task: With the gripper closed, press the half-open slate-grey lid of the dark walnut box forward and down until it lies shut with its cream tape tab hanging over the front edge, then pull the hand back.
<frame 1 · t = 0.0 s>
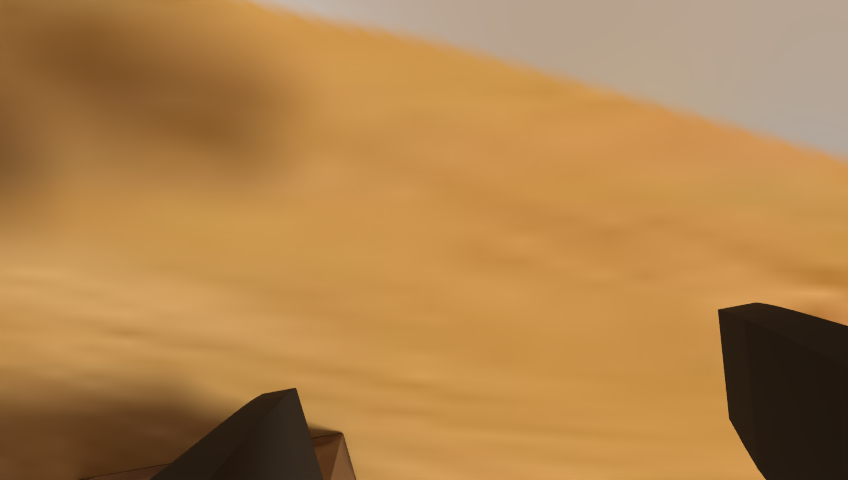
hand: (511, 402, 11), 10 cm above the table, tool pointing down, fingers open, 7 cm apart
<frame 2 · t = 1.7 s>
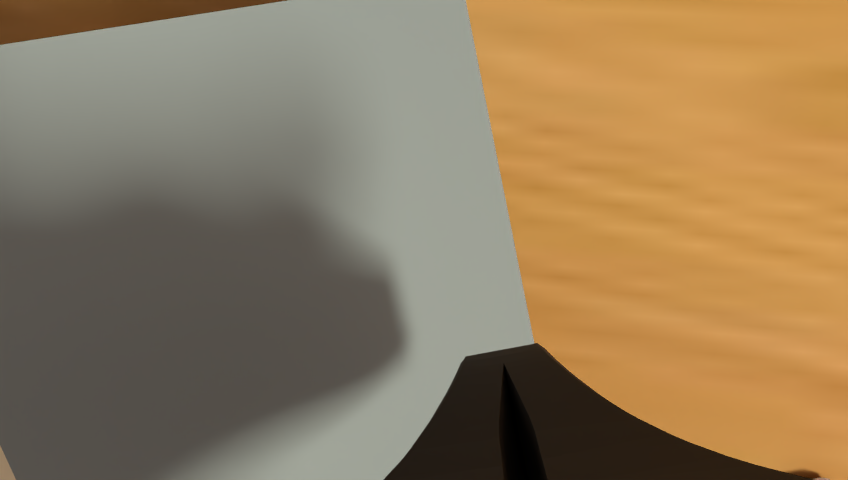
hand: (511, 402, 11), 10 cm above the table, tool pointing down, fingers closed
lid: (296, 380, 14), point 8 cm above the table, hinge at 40.0°
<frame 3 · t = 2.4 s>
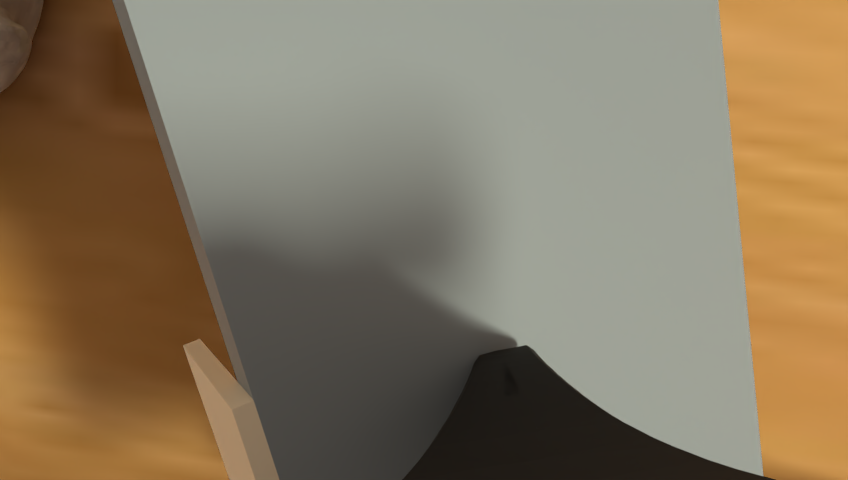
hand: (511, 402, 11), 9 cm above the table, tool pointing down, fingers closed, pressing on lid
lid: (501, 352, 13), point 7 cm above the table, hinge at 33.1°, touching gripper
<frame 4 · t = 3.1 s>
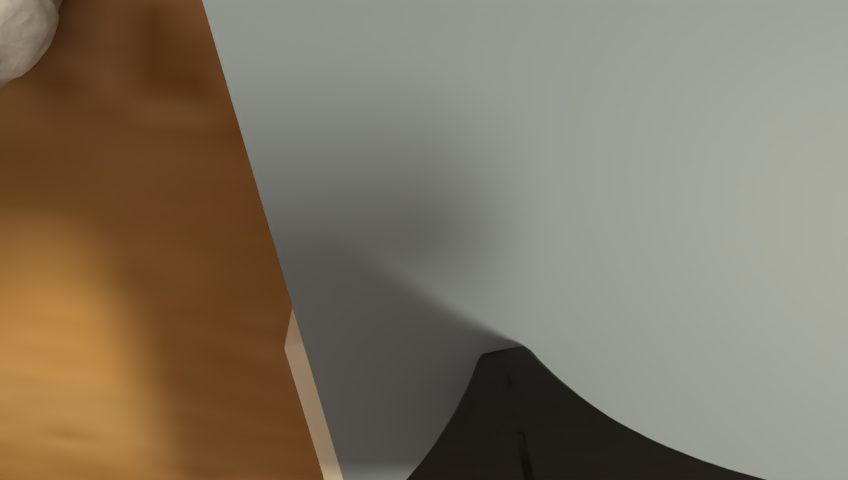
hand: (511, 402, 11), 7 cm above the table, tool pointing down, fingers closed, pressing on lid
lid: (590, 337, 13), point 5 cm above the table, hinge at 8.8°, touching gripper
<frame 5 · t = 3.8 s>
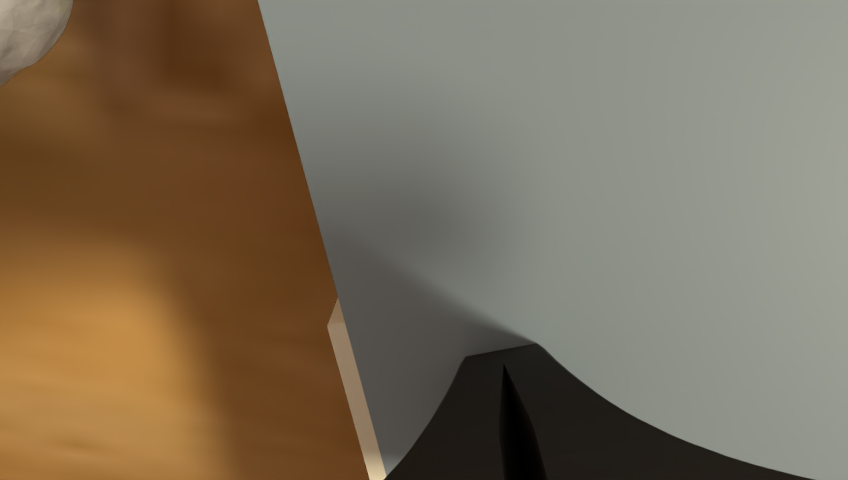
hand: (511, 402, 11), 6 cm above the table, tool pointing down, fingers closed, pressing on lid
lid: (639, 332, 12), point 4 cm above the table, hinge at 1.3°, touching gripper
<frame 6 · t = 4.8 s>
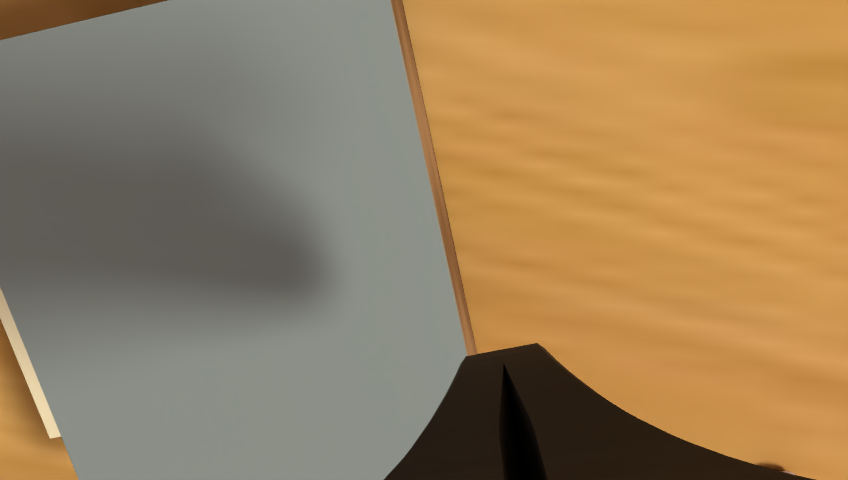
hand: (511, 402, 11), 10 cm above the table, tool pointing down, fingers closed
lid: (249, 300, 17), point 4 cm above the table, hinge at 1.3°
box: (298, 251, 21), on the table
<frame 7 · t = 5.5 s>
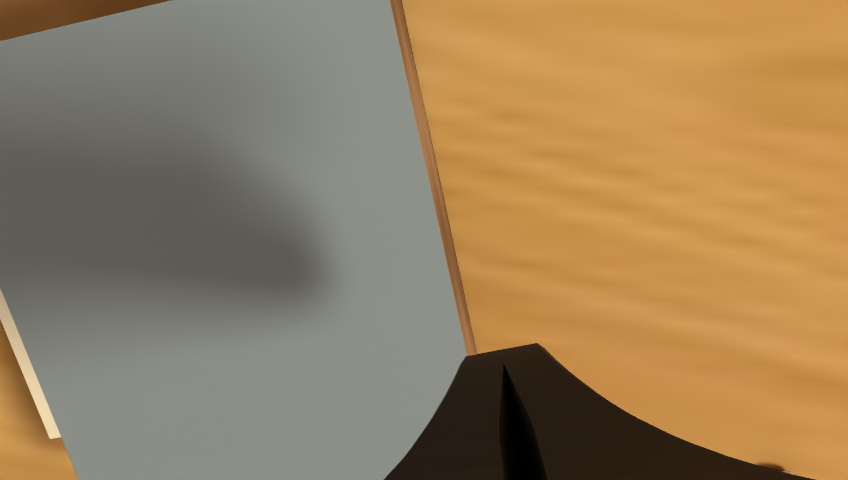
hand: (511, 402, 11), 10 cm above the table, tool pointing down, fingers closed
lid: (248, 301, 17), point 4 cm above the table, hinge at 1.3°
box: (298, 251, 21), on the table
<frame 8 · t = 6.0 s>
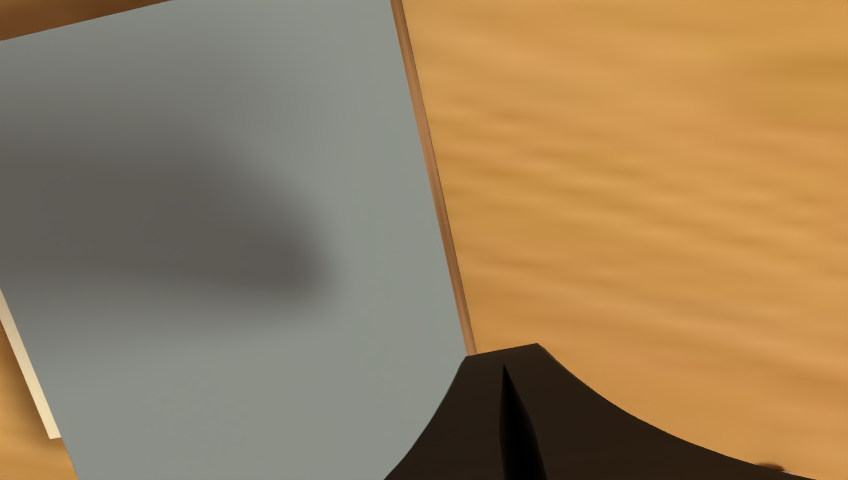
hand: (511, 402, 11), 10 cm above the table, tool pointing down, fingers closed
lid: (248, 301, 17), point 4 cm above the table, hinge at 1.3°
box: (298, 251, 21), on the table
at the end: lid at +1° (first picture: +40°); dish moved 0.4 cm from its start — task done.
